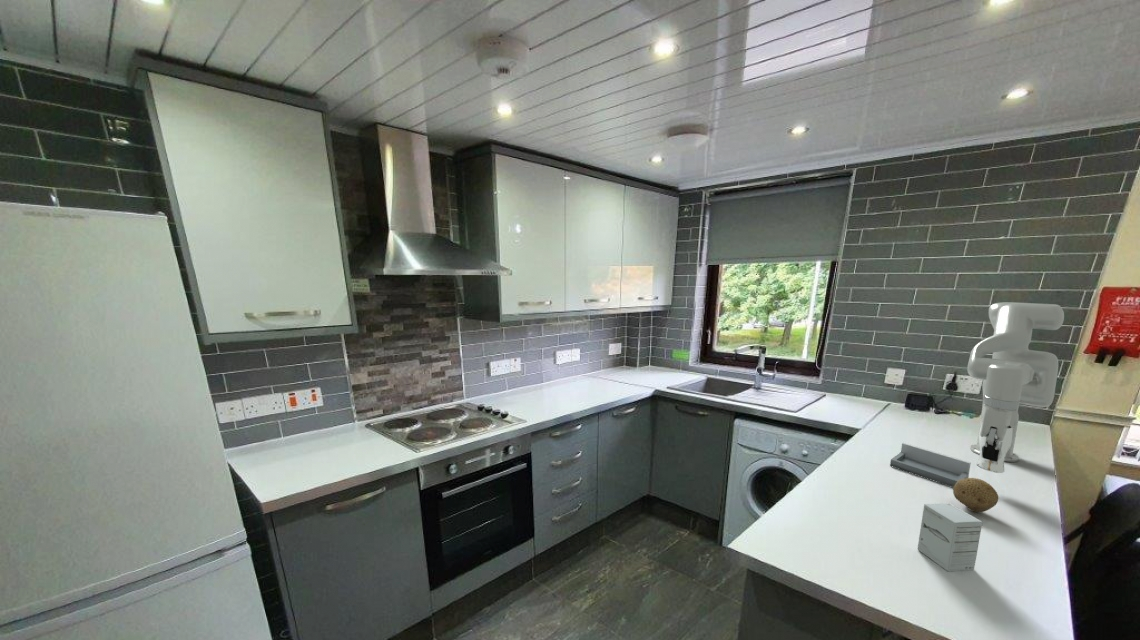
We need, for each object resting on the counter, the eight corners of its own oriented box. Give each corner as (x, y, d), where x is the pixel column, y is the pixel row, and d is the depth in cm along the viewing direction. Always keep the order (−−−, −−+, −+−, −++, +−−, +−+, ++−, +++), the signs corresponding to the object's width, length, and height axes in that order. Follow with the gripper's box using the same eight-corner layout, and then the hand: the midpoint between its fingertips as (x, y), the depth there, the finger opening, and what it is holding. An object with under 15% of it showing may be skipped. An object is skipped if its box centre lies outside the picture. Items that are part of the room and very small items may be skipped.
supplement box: (915, 549, 95) (922, 503, 94) (942, 548, 96) (949, 501, 94) (947, 572, 88) (954, 522, 86) (976, 571, 88) (984, 521, 87)
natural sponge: (981, 523, 106) (986, 489, 105) (943, 504, 114) (947, 473, 113) (1002, 518, 108) (1008, 485, 107) (963, 500, 117) (968, 469, 116)
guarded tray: (901, 457, 144) (903, 442, 143) (968, 478, 129) (970, 462, 129) (890, 465, 138) (892, 450, 137) (959, 489, 123) (961, 472, 122)
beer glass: (1013, 474, 118) (1020, 429, 116) (986, 472, 120) (993, 427, 117) (993, 463, 125) (1000, 420, 123) (968, 461, 126) (974, 419, 124)
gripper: (988, 394, 127) (981, 445, 129) (976, 405, 117) (968, 459, 120) (1023, 401, 121) (1014, 453, 123) (1013, 413, 111) (1004, 469, 114)
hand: (991, 456), depth 122 cm, fingers closed on beer glass, 6 cm apart
